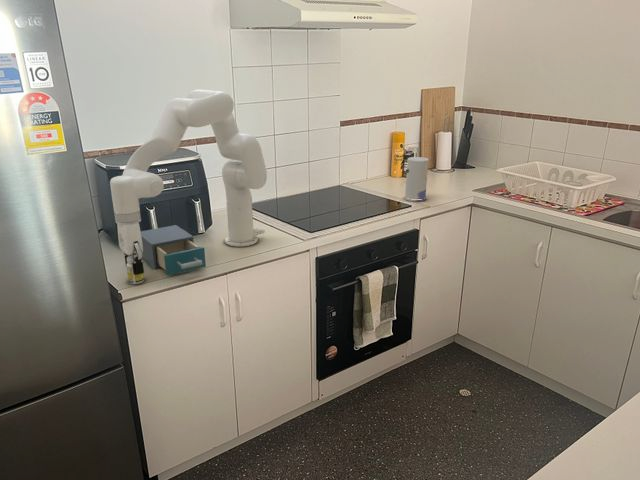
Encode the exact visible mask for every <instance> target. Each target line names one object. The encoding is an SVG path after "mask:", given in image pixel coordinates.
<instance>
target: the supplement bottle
mask: <svg viewBox="0 0 640 480" xmlns="http://www.w3.org/2000/svg"><path fill="white" fill-rule="evenodd" d="M136 256H137V255H134V257H136ZM132 263H133V260H132V256H128V257H127V265H126V264H125V267H126V266H127V267H126V272H127V273H126V274H127V279H128V283H129V284H131V285H138V284H141V283H144V281H145V276H144V273H142V274H138V275H134V273H133V266H132Z"/></svg>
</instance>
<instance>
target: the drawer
mask: <svg viewBox="0 0 640 480" xmlns="http://www.w3.org/2000/svg"><path fill="white" fill-rule="evenodd" d="M155 253H156V262H157V264H159V265H160V266H161V269H163V270H164V271H165V275H166V276H167V277H168V276H172V275H175V274H180V273H185V272H189V271H193V270H197V269H203V268H206V267H207V266H206V265H207V264H206V254H205V253H206V252H205V247H204V246H200V247H199V246H198V245H197V244H196V243H195V242H194V243H193V242H191V241H190V240H185V241H180V242H175V243H170V244H165V245H160V246H155Z"/></svg>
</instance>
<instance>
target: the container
mask: <svg viewBox="0 0 640 480" xmlns="http://www.w3.org/2000/svg"><path fill="white" fill-rule="evenodd" d="M406 160H407V161H406V162H407V164H406V177H405V190H404V191H405V192H404V195H405V196H404V199H405V200H406V201H409V202H416V203H417V202H424V201H426V198H427V185H428V184H427V183H428V171H429V162H430V161H429V160H430V159H429V158H427V157H422V156H411V157H408V158H407V159H406ZM405 197H406V198H405ZM425 197H426V198H425ZM407 198H409V199H407ZM424 198H425V199H424ZM411 199H422V200H411Z"/></svg>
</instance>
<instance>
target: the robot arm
mask: <svg viewBox="0 0 640 480" xmlns="http://www.w3.org/2000/svg"><path fill="white" fill-rule="evenodd" d="M234 106H235V104H234V100H233V97H232V96H231V95H230V94H229V93H228V92H226V91H221V90H211V89H194V90H192V91H190V92H189V93H188V95H187V98H185V97H174V98H172V99H170V100H169V101H168V102H167V104H166V105H165V108H164V109H163V111H162V114H161V116H160V119H159V120H158V122H157V124H156V127H155V128H154V131H153V133H152V135H151V136H150V137H149V139H147V140H146V141H144V143H142V144H141V145H140V146H139V147H138V148H137V149H136V150H135V151H134V152H133V154H132V155H131V156H130V157H129V159H128V161H127V163H126V165H125V167H124V169H123V172H122V175H117V176H116V175H115V176H114V177H112V178H111V179H110V180H109V186H110V194H111V200H112V206H113V207H112V209H113V214H114V221H115V223H116V227H117V228H116V229H117V239H118V240H117V241H118V247H119V249H120V250H121V251H122V252H123V255H124V262H125V263H124V264H125V267H126V268H127V266H126V265H127V257H128V256H132V260H133V263H132V266H133V273H134V275H138V274H142V273H143V274H144V273H145V269H144V267H145V266H144V259H143V258H142V252H143V244H142V237H141V232H140V231H141V227H140V222H141V221H142V217H141V210H140V209H141V208H140V202H139V201H140V199H148V198H149V199H150V198H154V197H157V196H159V195H161V193H162V192H163V191H164V186H165V184H164V181H163V179H162V177H161V176H159V174H156V173H153V172H149V171H148V170H149V168H150V167H151V166H152V165H153V164H154V163H155V162H156V161H158V160H159V159H161V158H164V157H166V156H169V155H171V154H174V153H175V152H176V151H177V150H178V148H179V146H180V144H181V142H182V140H183V138H184V135H185V134H186V131H187V129H188V128H189V127H190V128H202V127H203V128H204V127H207V126H209V125H210V126H211V128H212V131H213V134H214V139H215V142H216V145H217V148H218V152H219V153H220V155H221V156H222V158H225V159H228V160H227V161H226V162H225V163H224V164H223V166H222V169H221V177H222V181H223V185H224V190H225V198H226V214H227V216H226V217H227V230H228V231H227V232H228V236H226V237H225V239H224V243H225V244H226V245H228V246H231V247H237V248H240V247H249V246H253V245H255V244H256V243H258V241H259V238H258V237H257V236H258V235H263V234H265V233H266V230H265V229H264V228H258V227H257V228H254V212H253V196H252V192H251V190H259V189H262V188H263V187H264V186H265V185H266V182H267V178H268V173H267V168H266V163H265V159H264V154H263V151H262V147H261V144H260V142H259V140H258V138H256V137H255V136H253V135H252V134H249V133H243V132H240V129H239V128H238V124H237V121H236V118H235V116H234V114H233V112H234V109H235V108H234ZM134 255H137V256H136V257H134Z"/></svg>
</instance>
